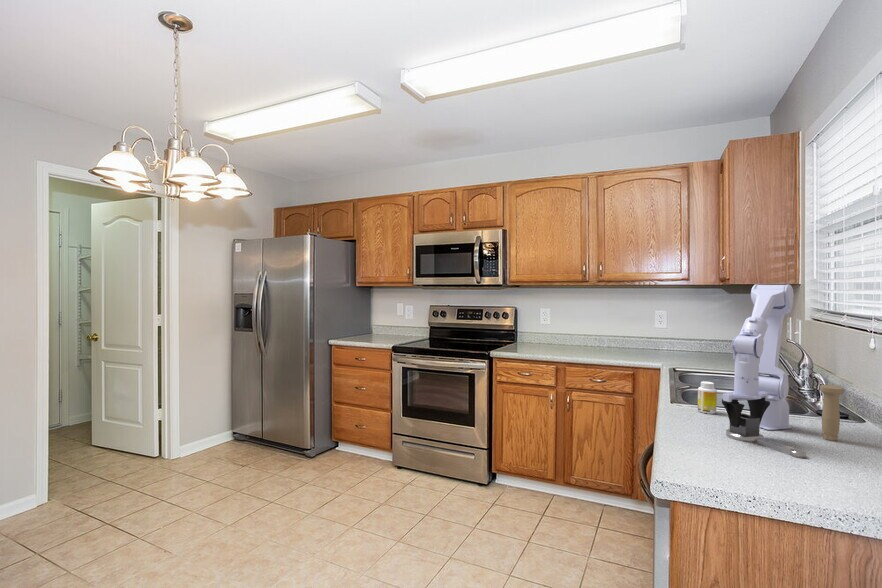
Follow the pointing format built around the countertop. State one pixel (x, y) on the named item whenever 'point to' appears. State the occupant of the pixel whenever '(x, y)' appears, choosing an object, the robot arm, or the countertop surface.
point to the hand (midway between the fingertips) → (745, 425)
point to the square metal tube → (747, 426)
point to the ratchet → (768, 444)
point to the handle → (831, 411)
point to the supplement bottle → (707, 398)
